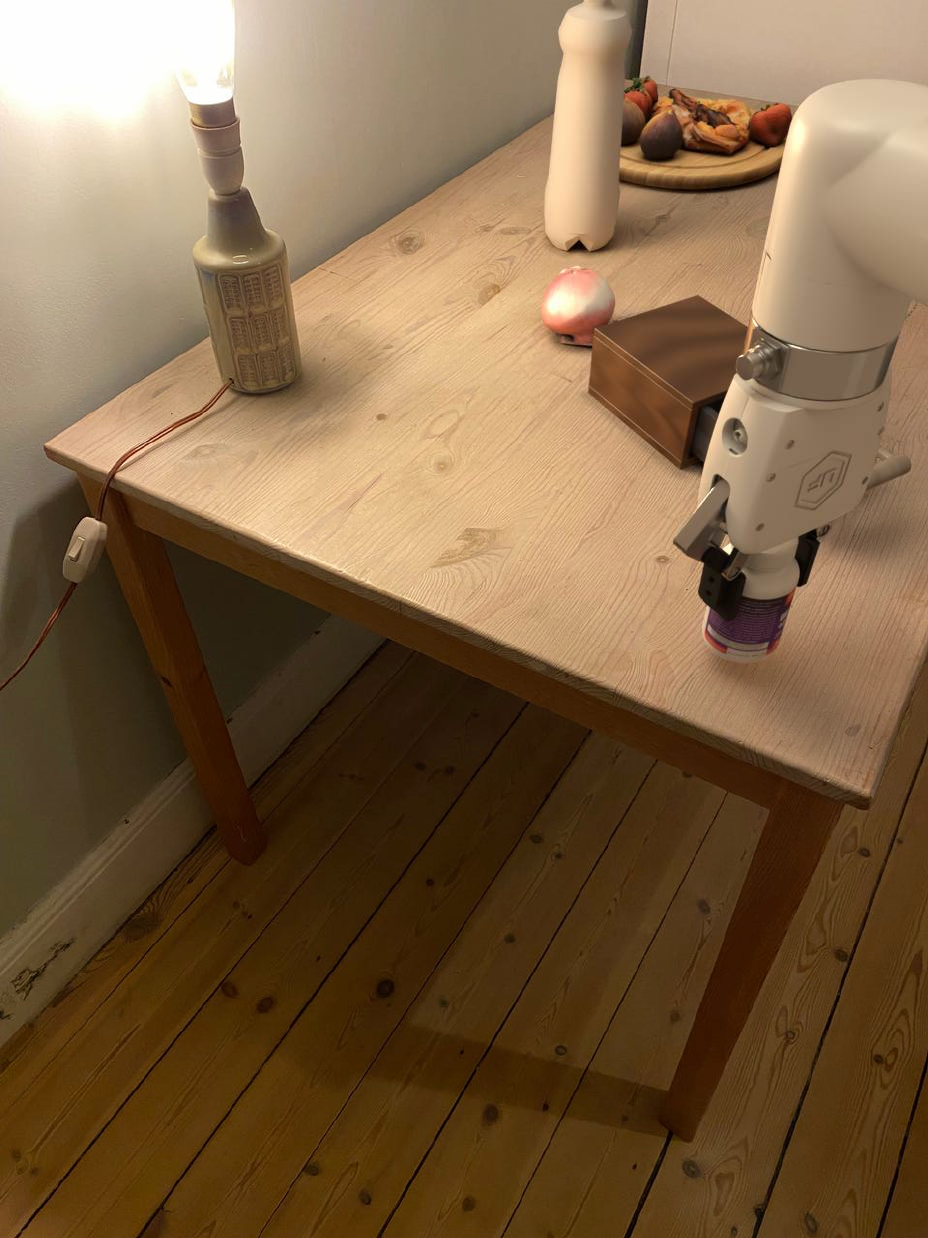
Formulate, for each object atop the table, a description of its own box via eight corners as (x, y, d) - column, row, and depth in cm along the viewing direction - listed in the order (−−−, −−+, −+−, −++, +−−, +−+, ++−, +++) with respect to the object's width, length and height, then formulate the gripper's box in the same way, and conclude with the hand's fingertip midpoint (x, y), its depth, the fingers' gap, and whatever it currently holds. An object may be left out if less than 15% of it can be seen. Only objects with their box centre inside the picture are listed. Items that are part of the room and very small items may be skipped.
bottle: (614, 225, 118) (644, -60, 96) (615, 257, 112) (648, -39, 90) (543, 223, 119) (558, -60, 97) (541, 254, 112) (555, -40, 91)
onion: (596, 312, 103) (602, 250, 97) (625, 346, 98) (633, 282, 92) (529, 324, 101) (532, 261, 96) (555, 359, 96) (560, 295, 91)
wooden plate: (817, 135, 138) (833, 74, 132) (743, 212, 120) (757, 145, 114) (625, 99, 150) (631, 42, 144) (531, 164, 132) (533, 101, 126)
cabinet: (784, 427, 87) (803, 361, 82) (679, 469, 83) (693, 402, 78) (686, 357, 96) (698, 294, 91) (587, 392, 92) (594, 327, 87)
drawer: (907, 511, 77) (934, 451, 73) (807, 558, 73) (829, 498, 69) (755, 403, 88) (770, 345, 84) (661, 438, 85) (671, 380, 80)
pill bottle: (785, 666, 63) (819, 562, 56) (707, 666, 63) (731, 563, 56) (769, 610, 67) (799, 507, 60) (695, 611, 67) (716, 508, 60)
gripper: (741, 432, 44) (687, 677, 57) (985, 333, 49) (885, 577, 62) (644, 363, 48) (615, 604, 61) (878, 280, 54) (805, 517, 67)
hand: (752, 588), depth 62 cm, fingers closed on pill bottle, 5 cm apart
